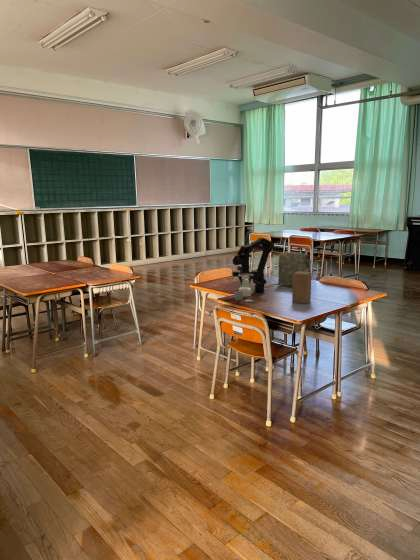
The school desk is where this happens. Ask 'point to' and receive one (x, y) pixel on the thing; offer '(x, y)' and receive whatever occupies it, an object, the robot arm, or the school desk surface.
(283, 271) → the bag
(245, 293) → the plinth
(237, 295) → the grey cube
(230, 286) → the school desk surface
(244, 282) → the green cube
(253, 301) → the board
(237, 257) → the robot arm
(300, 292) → the block
